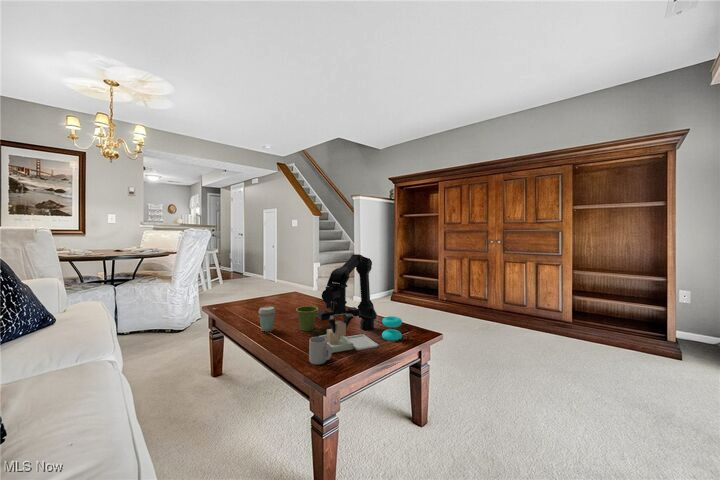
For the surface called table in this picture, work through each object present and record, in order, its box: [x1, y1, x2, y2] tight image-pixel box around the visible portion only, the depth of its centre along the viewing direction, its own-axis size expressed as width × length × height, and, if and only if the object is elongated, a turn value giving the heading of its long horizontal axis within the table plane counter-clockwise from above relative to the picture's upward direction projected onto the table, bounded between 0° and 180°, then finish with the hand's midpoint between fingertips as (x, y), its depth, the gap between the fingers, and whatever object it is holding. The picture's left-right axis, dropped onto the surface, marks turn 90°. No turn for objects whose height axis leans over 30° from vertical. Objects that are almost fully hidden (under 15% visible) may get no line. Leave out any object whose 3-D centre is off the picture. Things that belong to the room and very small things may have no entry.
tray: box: [345, 333, 380, 351], centre depth 146 cm, size 11×16×1 cm
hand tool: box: [311, 320, 336, 338], centre depth 159 cm, size 19×4×5 cm, turn 143°
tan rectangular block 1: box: [326, 329, 339, 344], centre depth 146 cm, size 4×4×6 cm
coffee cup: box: [258, 306, 276, 333], centre depth 162 cm, size 9×8×12 cm
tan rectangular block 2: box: [332, 320, 347, 337], centre depth 138 cm, size 4×4×6 cm
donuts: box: [381, 315, 403, 341], centre depth 153 cm, size 10×10×10 cm
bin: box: [319, 334, 354, 354], centre depth 142 cm, size 11×16×3 cm
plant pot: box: [295, 305, 319, 332], centre depth 165 cm, size 12×12×11 cm
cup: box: [308, 336, 333, 365], centre depth 125 cm, size 7×10×9 cm
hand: (339, 332), depth 138 cm, fingers closed on tan rectangular block 2, 5 cm apart
